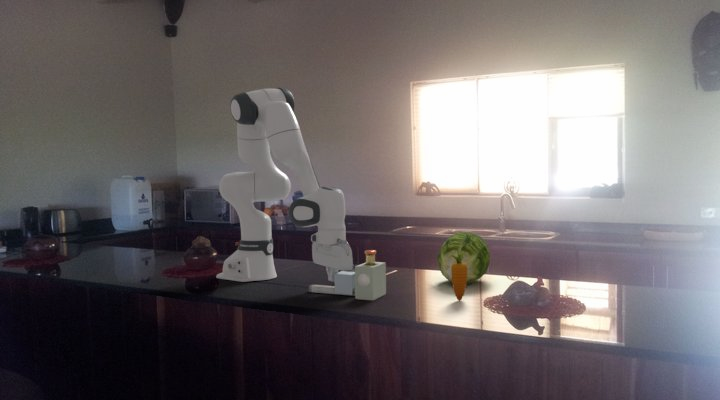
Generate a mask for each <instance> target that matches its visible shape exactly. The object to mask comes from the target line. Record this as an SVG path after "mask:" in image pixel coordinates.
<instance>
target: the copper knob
mask: <svg viewBox="0 0 720 400" xmlns="http://www.w3.org/2000/svg"><path fill="white" fill-rule="evenodd" d="M364 254H365V263H366V265H369V266H375V262H376V255H377V250H376V249H367V250H364Z"/></svg>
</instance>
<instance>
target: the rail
mask: <svg viewBox="0 0 720 400" xmlns="http://www.w3.org/2000/svg"><path fill="white" fill-rule="evenodd" d="M308 292H309V293H319V294H327V295H328V294H329V295H336V294H335V285H326V284H325V285H323V284H310V285H308ZM338 295H339V296H340V295H341V296H347V295H346V294H338ZM349 296H351V297H352V296H353V297H355V288H354V289H353V295H349Z"/></svg>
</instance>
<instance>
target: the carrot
mask: <svg viewBox="0 0 720 400" xmlns="http://www.w3.org/2000/svg"><path fill="white" fill-rule="evenodd" d="M457 253H458V257H456V256H455V255H453V254H452V255H451V256H452V257H454V258H455V259H456V261H457V262H456V263H453V264H452V267H451V270H452V282H451V283H452V288H453V292H454V294H455V297H456V299H457V300H458V301H459V302H461V300H463V297H464V295H465V292H466V287H467V284H466V283H467V265H466V264H465V263H462V262H461V261H462V259H463V255H464V253H462V254H461V253H460V250H457Z"/></svg>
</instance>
